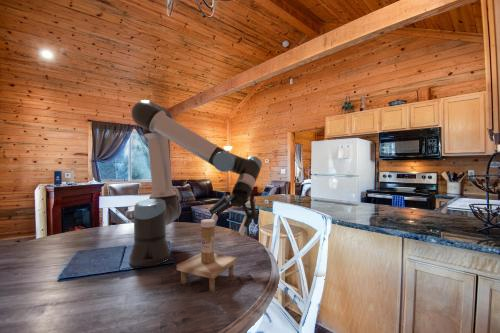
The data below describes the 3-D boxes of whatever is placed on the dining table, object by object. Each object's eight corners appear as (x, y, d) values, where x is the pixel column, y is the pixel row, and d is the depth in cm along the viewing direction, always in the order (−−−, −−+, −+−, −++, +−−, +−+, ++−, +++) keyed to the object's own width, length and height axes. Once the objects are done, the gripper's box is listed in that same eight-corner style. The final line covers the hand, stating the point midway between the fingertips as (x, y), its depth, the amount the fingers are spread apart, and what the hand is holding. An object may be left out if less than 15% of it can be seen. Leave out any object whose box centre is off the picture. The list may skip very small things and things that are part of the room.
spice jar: (198, 262, 81) (198, 221, 81) (205, 257, 85) (205, 218, 85) (210, 264, 79) (210, 222, 79) (217, 259, 83) (217, 219, 83)
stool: (176, 283, 79) (176, 265, 79) (203, 267, 91) (203, 251, 91) (213, 294, 73) (213, 273, 73) (237, 275, 85) (237, 257, 85)
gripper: (274, 194, 100) (258, 241, 87) (222, 191, 112) (201, 233, 99) (269, 181, 96) (251, 230, 82) (215, 180, 107) (192, 222, 94)
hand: (224, 232), depth 91 cm, fingers open, 13 cm apart
